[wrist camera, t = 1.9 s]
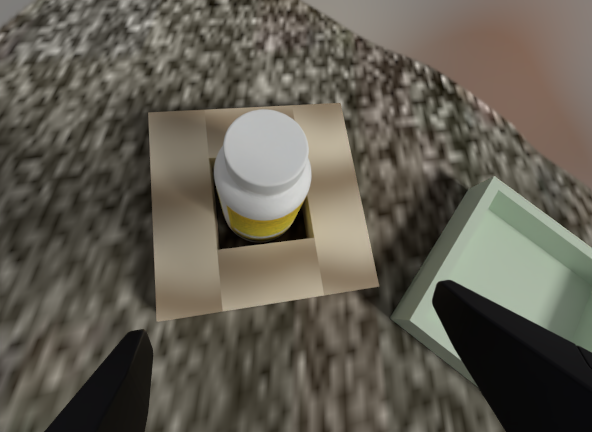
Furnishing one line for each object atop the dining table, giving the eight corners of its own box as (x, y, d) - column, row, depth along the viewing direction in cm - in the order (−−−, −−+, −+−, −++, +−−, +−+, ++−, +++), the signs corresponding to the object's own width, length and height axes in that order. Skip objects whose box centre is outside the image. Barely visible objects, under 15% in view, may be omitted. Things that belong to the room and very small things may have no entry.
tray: (537, 434, 22) (580, 453, 19) (389, 318, 23) (409, 320, 20) (596, 285, 26) (639, 283, 23) (468, 189, 27) (494, 176, 24)
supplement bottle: (308, 222, 24) (345, 170, 15) (245, 257, 23) (241, 224, 13) (273, 163, 25) (287, 80, 16) (210, 194, 24) (184, 122, 14)
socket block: (366, 288, 23) (379, 286, 21) (167, 319, 21) (156, 321, 18) (332, 120, 27) (340, 102, 24) (158, 131, 24) (148, 112, 22)
